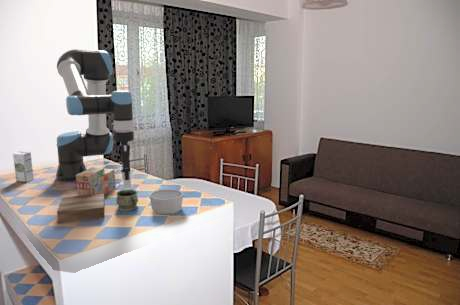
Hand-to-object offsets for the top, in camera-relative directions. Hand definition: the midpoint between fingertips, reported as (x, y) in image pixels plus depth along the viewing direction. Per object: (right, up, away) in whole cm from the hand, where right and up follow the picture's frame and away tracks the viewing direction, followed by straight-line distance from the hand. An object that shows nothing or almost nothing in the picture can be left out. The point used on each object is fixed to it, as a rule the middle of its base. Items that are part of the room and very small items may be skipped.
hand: (126, 182), depth 147 cm
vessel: (0, -10, +3) cm, 11 cm away
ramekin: (+16, -11, 0) cm, 20 cm away
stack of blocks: (-18, -7, +17) cm, 25 cm away
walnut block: (-16, -12, -4) cm, 20 cm away
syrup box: (-61, -2, +35) cm, 70 cm away
